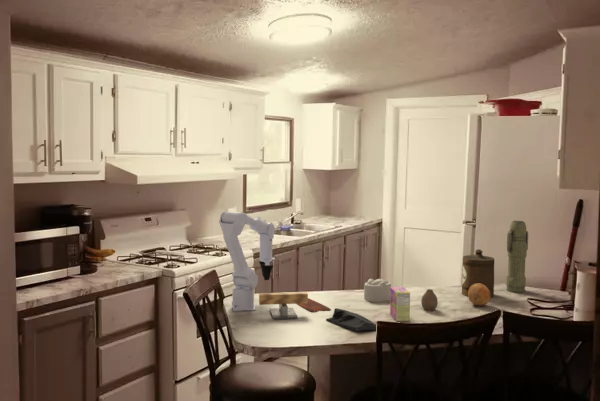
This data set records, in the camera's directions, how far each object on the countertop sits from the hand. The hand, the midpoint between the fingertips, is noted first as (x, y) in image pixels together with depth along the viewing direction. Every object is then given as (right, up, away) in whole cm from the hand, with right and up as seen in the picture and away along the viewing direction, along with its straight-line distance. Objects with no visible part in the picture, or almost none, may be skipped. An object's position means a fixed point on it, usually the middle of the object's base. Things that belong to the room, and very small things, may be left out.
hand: (265, 278), depth 253 cm
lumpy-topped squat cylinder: (+51, -11, +7) cm, 53 cm away
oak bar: (+9, -7, -22) cm, 25 cm away
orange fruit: (+96, -12, -4) cm, 97 cm away
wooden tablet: (+19, -12, -4) cm, 23 cm away
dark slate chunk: (+37, -14, -34) cm, 52 cm away
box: (+57, -13, -24) cm, 63 cm away
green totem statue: (+124, -10, +25) cm, 127 cm away
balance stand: (+9, -12, -22) cm, 27 cm away
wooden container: (+102, -10, +16) cm, 104 cm away
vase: (+72, -12, -12) cm, 74 cm away
